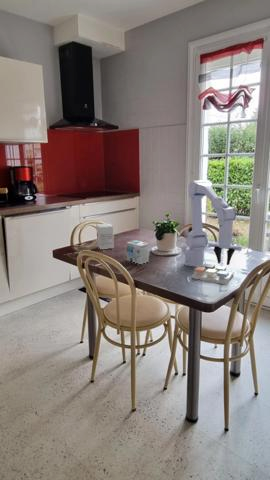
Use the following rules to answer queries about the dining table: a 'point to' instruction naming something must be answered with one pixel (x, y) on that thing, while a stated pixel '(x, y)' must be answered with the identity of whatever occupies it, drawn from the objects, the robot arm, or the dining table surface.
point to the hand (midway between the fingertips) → (223, 263)
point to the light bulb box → (138, 252)
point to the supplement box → (105, 236)
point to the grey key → (209, 266)
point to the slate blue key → (223, 274)
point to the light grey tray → (213, 277)
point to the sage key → (220, 268)
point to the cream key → (211, 271)
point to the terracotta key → (199, 270)
